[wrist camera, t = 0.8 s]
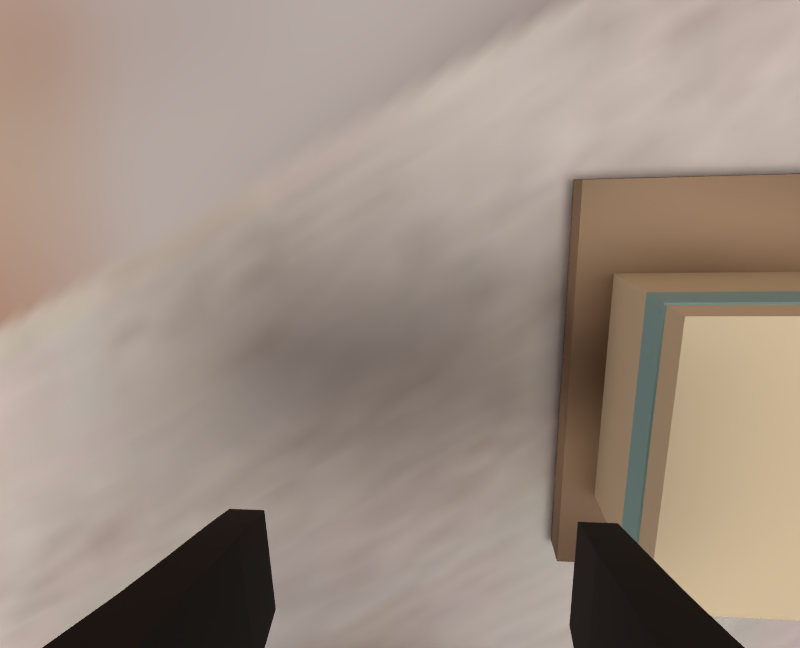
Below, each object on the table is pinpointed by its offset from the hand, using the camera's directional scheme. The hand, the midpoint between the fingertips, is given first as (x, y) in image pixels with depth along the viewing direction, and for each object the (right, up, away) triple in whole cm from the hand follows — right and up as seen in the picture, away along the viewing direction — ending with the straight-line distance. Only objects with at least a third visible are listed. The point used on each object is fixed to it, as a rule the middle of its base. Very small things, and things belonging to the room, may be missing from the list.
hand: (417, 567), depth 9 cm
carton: (+9, +2, +6) cm, 11 cm away
